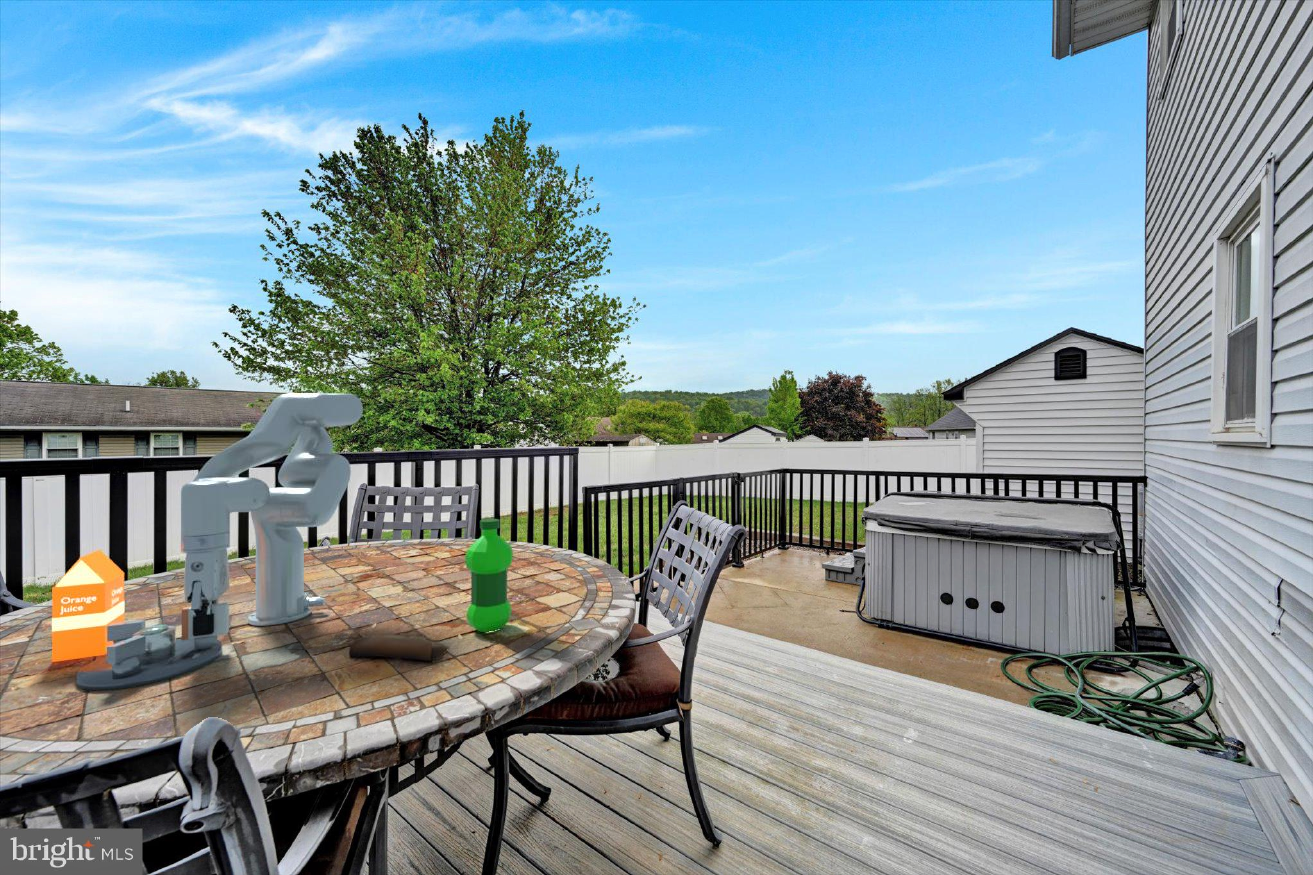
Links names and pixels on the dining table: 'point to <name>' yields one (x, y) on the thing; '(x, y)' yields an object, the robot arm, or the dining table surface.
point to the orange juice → (86, 607)
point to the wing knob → (219, 625)
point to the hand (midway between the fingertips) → (205, 631)
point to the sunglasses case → (397, 647)
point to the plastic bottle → (489, 579)
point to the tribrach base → (149, 671)
